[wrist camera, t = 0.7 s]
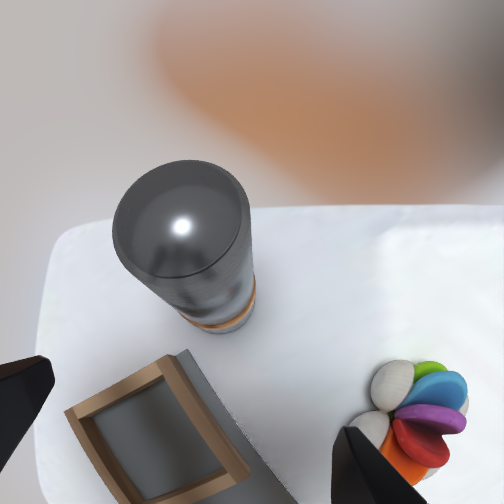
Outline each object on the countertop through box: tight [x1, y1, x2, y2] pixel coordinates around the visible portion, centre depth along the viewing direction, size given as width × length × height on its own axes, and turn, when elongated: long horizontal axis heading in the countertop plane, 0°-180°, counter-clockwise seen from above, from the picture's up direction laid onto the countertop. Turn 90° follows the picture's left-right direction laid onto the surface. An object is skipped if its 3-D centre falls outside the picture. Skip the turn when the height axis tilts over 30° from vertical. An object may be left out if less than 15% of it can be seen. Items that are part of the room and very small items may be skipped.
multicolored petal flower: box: [349, 360, 469, 486], centre depth 16 cm, size 8×10×7 cm
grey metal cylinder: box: [112, 160, 255, 334], centre depth 17 cm, size 5×5×13 cm
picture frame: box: [64, 349, 298, 504], centre depth 17 cm, size 11×15×2 cm
